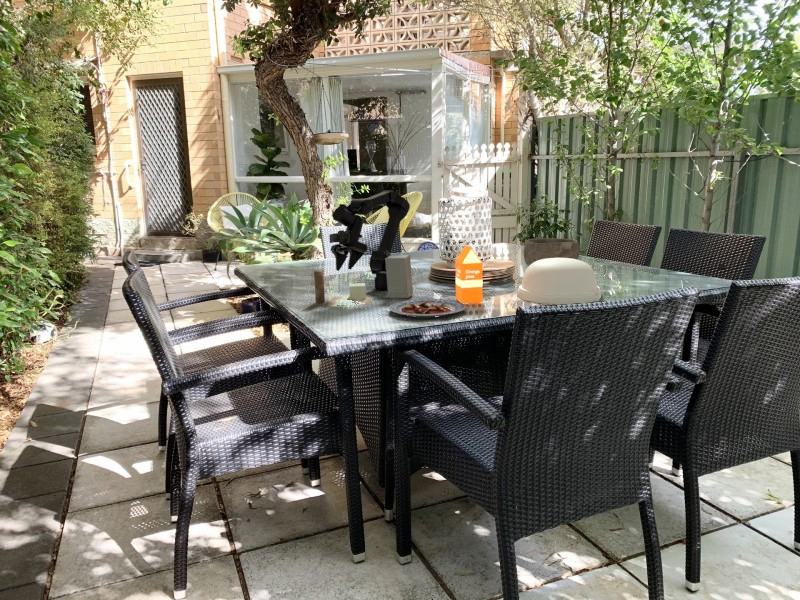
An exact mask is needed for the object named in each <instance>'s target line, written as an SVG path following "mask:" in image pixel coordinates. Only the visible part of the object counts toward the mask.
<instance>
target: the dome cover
mask: <svg viewBox="0 0 800 600" xmlns="http://www.w3.org/2000/svg"><path fill="white" fill-rule="evenodd" d="M517 297H518V298H519V299H520V300H522V301H527V302H532V303H539V304H547V305H548V304H550V305H573V304H572V303H580V304H586V303H593V302H600V299H601V298H602V290H601V288H600V286H599V285H598V284H597V277H596V273H595V271H594V269H593V268H592V266H591V265H589V264H588V262H585V261H583V260H580V259H578V260H577V259H571V258H547V259H541V260H538V261H536V262H534V263H532V264H531V265H529V267H528V266H527V268H526V269H525V271H524V274H523V277H522V282H521V284H519V287H518V290H517Z"/></svg>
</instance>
